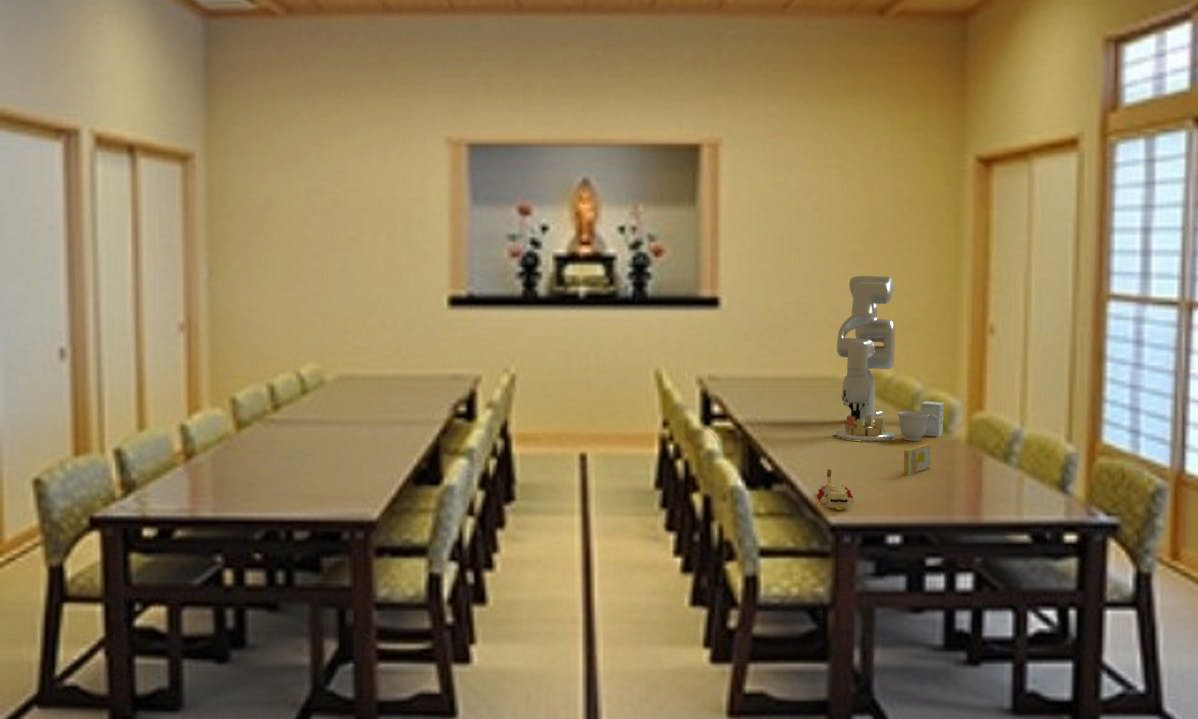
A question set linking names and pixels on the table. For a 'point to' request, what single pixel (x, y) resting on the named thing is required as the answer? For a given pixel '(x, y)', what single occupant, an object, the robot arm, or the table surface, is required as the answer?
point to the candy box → (916, 459)
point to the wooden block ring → (859, 427)
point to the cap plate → (865, 438)
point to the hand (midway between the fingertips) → (855, 420)
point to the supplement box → (933, 409)
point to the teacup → (914, 424)
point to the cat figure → (834, 495)
